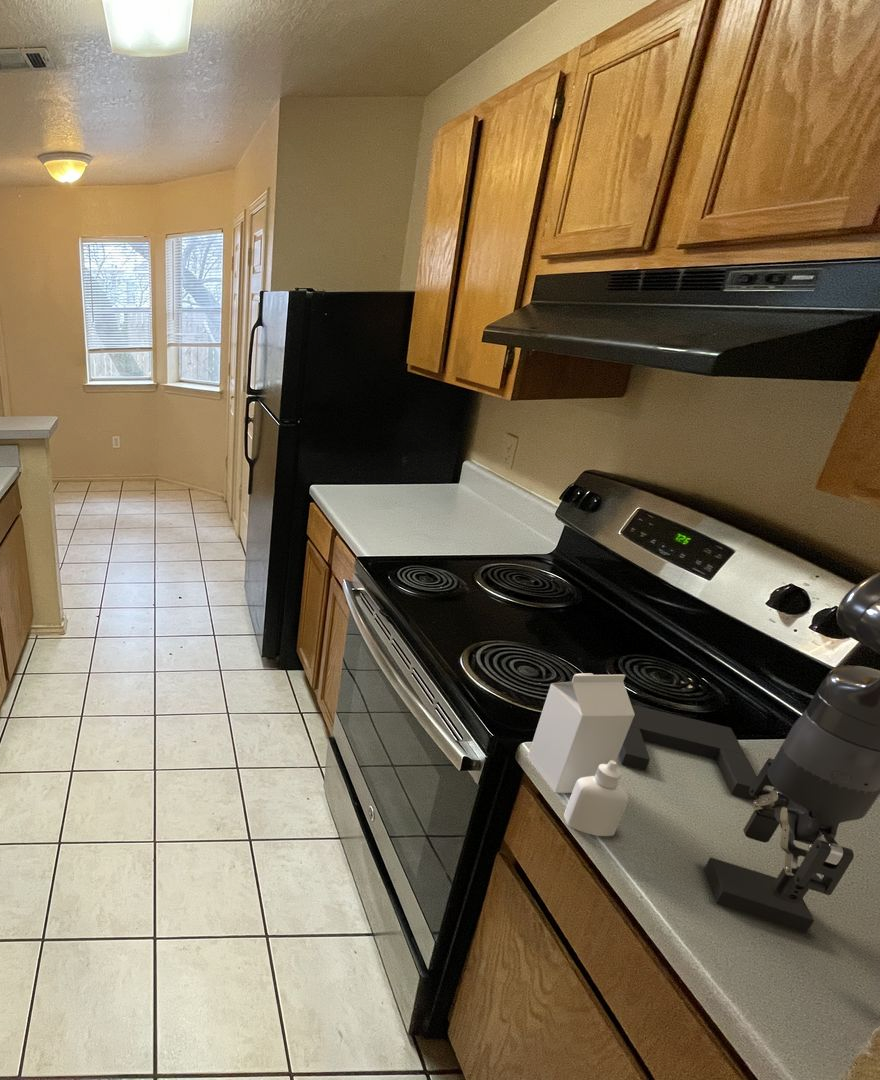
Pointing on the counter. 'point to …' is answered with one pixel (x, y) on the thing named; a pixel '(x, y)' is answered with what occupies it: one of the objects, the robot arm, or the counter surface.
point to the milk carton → (580, 728)
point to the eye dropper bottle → (597, 802)
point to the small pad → (754, 895)
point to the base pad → (688, 745)
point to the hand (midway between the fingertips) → (767, 866)
